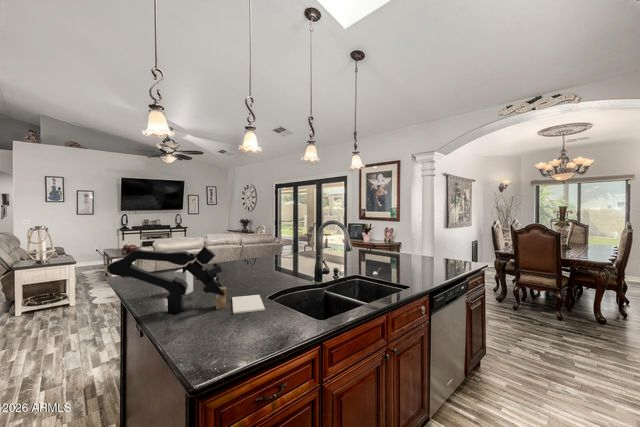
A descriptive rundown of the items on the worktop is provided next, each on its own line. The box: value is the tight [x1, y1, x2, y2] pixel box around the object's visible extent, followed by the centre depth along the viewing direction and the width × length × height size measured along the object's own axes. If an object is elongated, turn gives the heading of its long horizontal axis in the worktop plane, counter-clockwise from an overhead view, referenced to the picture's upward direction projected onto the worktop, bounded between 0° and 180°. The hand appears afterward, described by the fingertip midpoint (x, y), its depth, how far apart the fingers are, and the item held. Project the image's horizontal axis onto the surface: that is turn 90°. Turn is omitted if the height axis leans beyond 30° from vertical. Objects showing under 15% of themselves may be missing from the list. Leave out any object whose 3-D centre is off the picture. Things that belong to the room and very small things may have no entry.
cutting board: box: [231, 294, 266, 314], centre depth 137 cm, size 14×22×1 cm, turn 19°
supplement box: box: [173, 268, 194, 296], centre depth 155 cm, size 7×7×13 cm
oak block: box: [215, 286, 227, 310], centre depth 133 cm, size 4×4×9 cm
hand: (224, 293), depth 133 cm, fingers open, 6 cm apart
